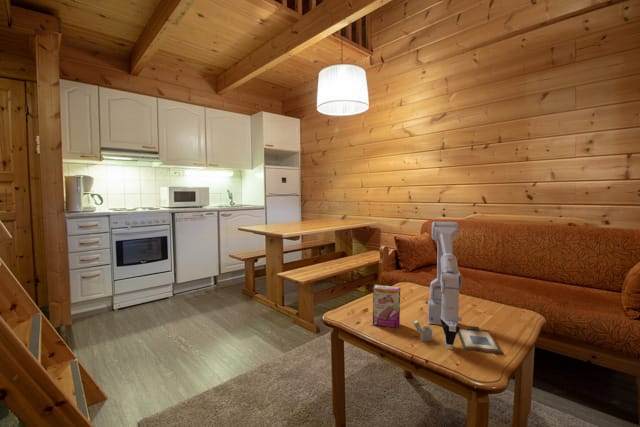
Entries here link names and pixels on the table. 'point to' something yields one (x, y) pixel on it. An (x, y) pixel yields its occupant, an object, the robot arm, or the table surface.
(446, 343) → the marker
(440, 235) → the robot arm
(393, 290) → the candy bar box
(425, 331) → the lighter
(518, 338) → the table surface
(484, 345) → the picture frame
